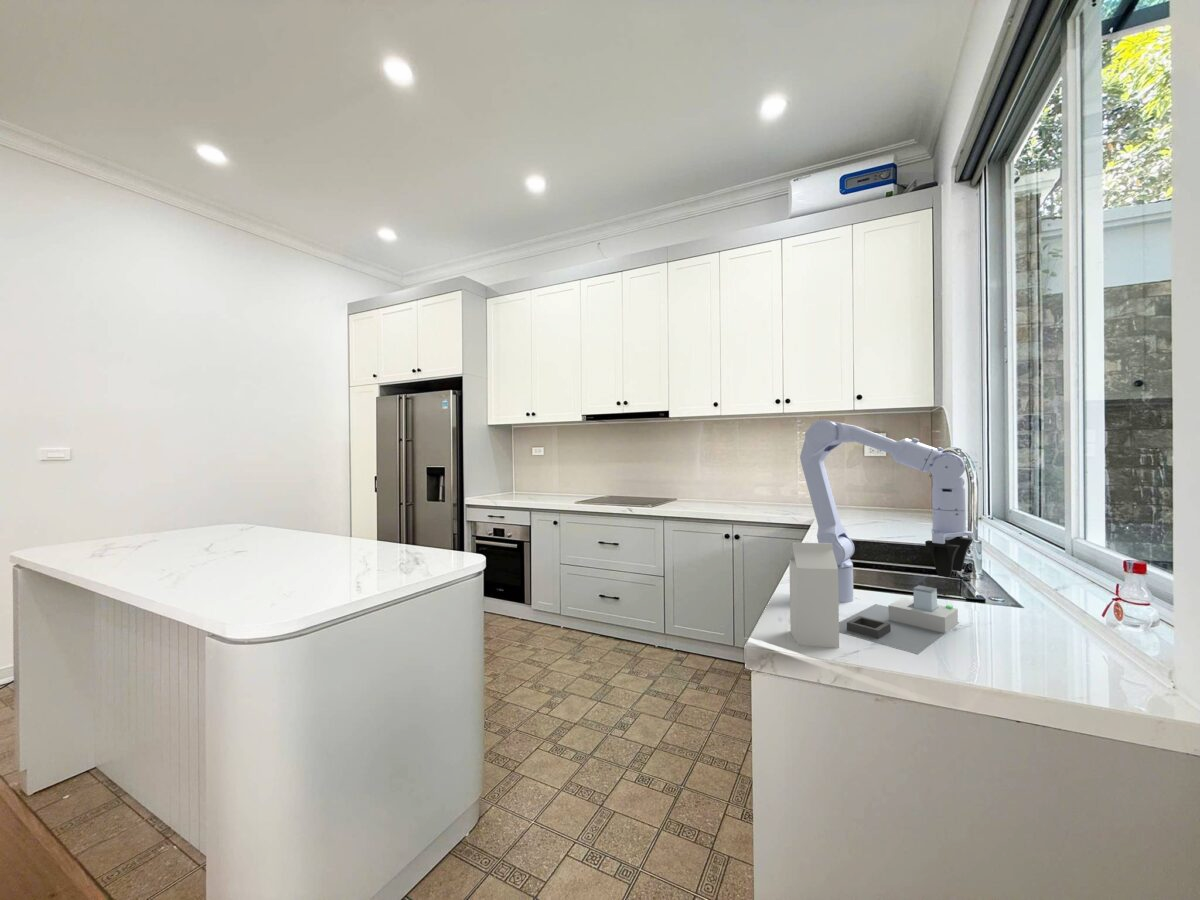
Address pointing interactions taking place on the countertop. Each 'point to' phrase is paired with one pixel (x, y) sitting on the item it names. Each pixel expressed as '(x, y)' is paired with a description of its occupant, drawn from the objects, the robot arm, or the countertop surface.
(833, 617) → the milk carton
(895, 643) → the panel
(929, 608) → the plug
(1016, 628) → the countertop surface
